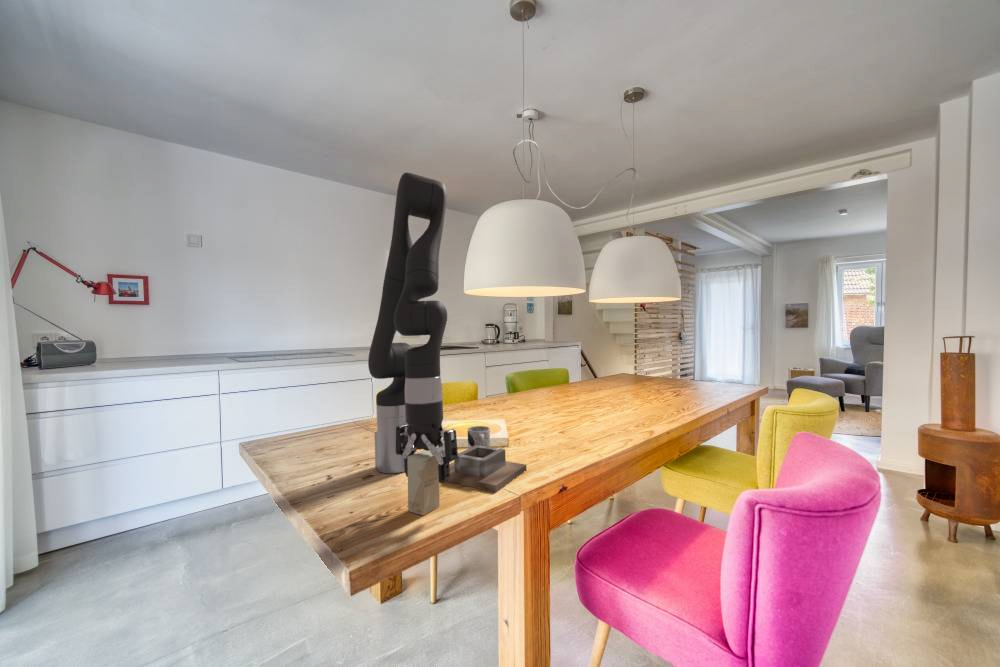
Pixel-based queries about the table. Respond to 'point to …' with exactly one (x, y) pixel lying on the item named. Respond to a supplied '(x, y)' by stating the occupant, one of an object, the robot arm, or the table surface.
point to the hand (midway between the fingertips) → (426, 478)
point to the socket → (484, 468)
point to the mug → (478, 436)
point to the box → (423, 483)
